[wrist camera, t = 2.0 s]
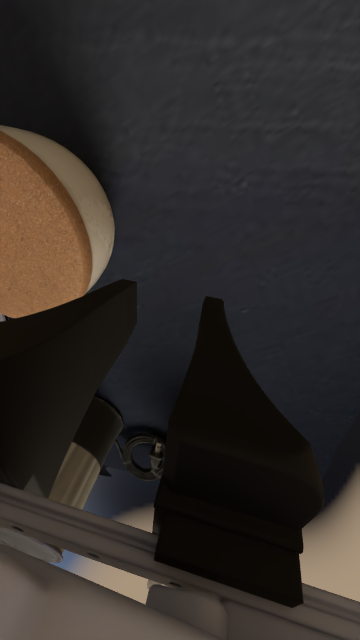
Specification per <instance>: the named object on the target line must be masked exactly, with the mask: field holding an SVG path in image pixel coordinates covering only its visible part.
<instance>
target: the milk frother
mask: <svg viewBox="0 0 360 640" xmlns="http://www.w3.org/2000/svg"><path fill="white" fill-rule="evenodd" d="M122 429H123V420H122V418H121V416H120V414H119V413H118V412H117V411H116V409H115V408H113V407H112V406H111V405H110V404H109V403H107V402H105V401H104V400H102V399H100V398H98V397H95V396H94V397H93V399H92V401H91V403H90V405H89V407H88V409H87V411H86V413H85V415H84V417H83V419H82V421H81V423H80V425H79V427H78V430H77V432H76V434H75V436H74V438H73V441H72V443H71V445H70V447H69V450H68V452H67V454H66V456H65V459H64V461H63V463H62V466H61V468H60V470H59V473H58V475H57V478H56V480H55V483H54V485H53V487H52V490H51V492H50V495H49V497H48V499H50V500H53V501H56V502H59V503H62V504H65V505H68V506H71V507H74V508H78V509H81V510H82V509H83V507H84V505H85V502H86V500H87V498H88V496H89V493H90V491H91V489H92V487H93V485H94V483H95V481H96V478H97V476H98V474H99V472H100V470H101V468H102V465H103V463H104V461H105V459H106V457H107V455H108V453H109V451H110V449H111V447H112V445H113V443H114V442H115V444H116V446H117V448H118V450H119V453H120V456H121V459H122V461H123V463H124V464H125V466H126V468H127V470H128V471H129V472H130V473H131V474H132V475H133V476H135V477H136V478H138V479H141V480H145V481H152V480H156V479H159V478H161V477H162V473H163V464H164V462H163V464H162V465H161V463H162V458H163V456H165V447H166V441H165V440H163V439H162V438H160V437H158V436H156V435H153V434H148V433H139V434H136V435H133V436H132V437H131V438H130V439H129V440H128V441H127V442H126V443H125V446H124V450H123V452H122V450H121V448H120V445H119V443H118V441H117V439H116V437H117V436H118V434H119V433H120V432H121V431H122ZM140 443H150V444H153V447H152V449H151V451H150V452H149V456H150V457H151V463H150V465H151V469H144V468H142V467H140V466H139V465H138V464H137V463H136V462H135V461H134V459H133V457H132V452H131V451H132V448H133V447H134V446H135V445H137V444H140ZM0 543H1V544H4V545H6V546H9V547H11V548H14V549H16V550H19V551H21V552H24V553H26V554H29V555H31V556H33V557H36V558H38V559H40V560H43V561H46V562H53V563H60V562H62V560H63V556H62V553H63V550H64V549H62V548H59V547H56V546H54V545H51V544H48V543H45V542H42V541H40V540H37V539H34V538H31V537H28V536H25V535H23V534H20V533H17V532H14V531H11V530H9V529H6V528H3V527H0Z"/></svg>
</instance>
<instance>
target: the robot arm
mask: <svg viewBox="0 0 360 640" xmlns="http://www.w3.org/2000/svg"><path fill="white" fill-rule="evenodd" d="M136 322H137V282H135V281H130V280H125V279H121V280H118V281H116V282H113V283H111V284H109V285H106V286H104V287H102V288H100V289H98V290H95V291H93V292H91V293H89V294H86V295H84V296H82V297H79V298H77V299H74V300H72V301H69V302H67V303H64V304H62V305H59V306H56V307H53V308H50V309H47V310H44V311H41V312H37V313H34V314H31V315H27V316H23V317H19V318H14V319H10V320H6V319H5V317H4V315H3V314H1V313H0V527H3V528H6V529H9V530H11V531H14V532H17V533H20V534H23V535H25V536H28V537H31V538H34V539H37V540H40V541H42V542H45V543H48V544H51V545H54V546H56V547H59V548H62V549H65V550H68V551H70V552H73V553H76V554H79V555H82V556H84V557H88V558H90V559H93V560H96V561H99V562H101V563H104V564H107V565H110V566H113V567H115V568H118V569H121V570H124V571H127V572H130V573H132V574H135V575H138V576H141V577H144V578H146V579H149V580H152V581H155V582H157V583H160V584H163V585H158V584H153V585H152V586H151V587H150V588H149V592H148V597H147V601H146V605H145V604H142V603H140V602H138V601H136V600H133V599H131V598H129V597H126V596H124V595H122V594H119V593H117V592H115V591H113V590H110V589H108V588H105V587H103V586H101V585H99V584H96V583H94V582H92V581H89V580H87V579H85V578H83V577H80V576H78V575H76V574H73V573H71V572H69V571H66V570H64V569H61V568H59V567H57V566H55V565H52V564H50V563H48V562H45V561H43V560H40V559H38V558H36V557H33V556H31V555H29V554H26V553H24V552H21V551H19V550H16V549H14V548H11V547H9V546H6V545H4V544H1V543H0V640H360V602H358V601H355V600H352V599H349V598H345V597H343V596H339V595H337V594H334V593H330V592H327V591H325V590H322V589H319V588H316V587H312V586H310V585H307V584H304V583H302V581H301V571H300V560H299V554H301V553H303V538H302V528H303V527H304V526H305V525H306V524H307V523H309V522H310V521H311V520H312V519H313V518H314V517H315V516H316V515H317V514H318V513H319V512H320V511H321V509H322V508H323V506H324V492H323V486H322V481H321V476H320V473H319V470H318V466H317V463H316V460H315V457H314V454H313V450H312V447H311V445H310V443H309V442H308V441H307V440H306V439H305V438H304V437H303V436H302V435H301V434H300V433H299V432H298V431H297V430H296V429H295V428H294V427H293V425H292V424H291V423H290V422H289V421H288V420H287V419H286V418H285V417H284V416H283V415H282V414H281V413H280V412H279V410H278V409H277V408H276V407H275V406H274V404H273V403H272V402H271V401H270V400H269V398H268V397H267V396H266V394H265V393H264V391H263V390H262V389H261V387H260V386H259V385H258V383H257V382H256V380H255V379H254V377H253V376H252V374H251V373H250V371H249V369H248V368H247V366H246V364H245V362H244V361H243V359H242V357H241V355H240V353H239V351H238V349H237V347H236V344H235V342H234V340H233V337H232V335H231V332H230V329H229V326H228V323H227V319H226V315H225V311H224V302H223V301H222V299H218V298H213V297H208V296H206V298H205V300H204V302H203V306H202V312H201V318H200V324H199V329H198V335H197V341H196V347H195V350H194V354H193V357H192V360H191V363H190V366H189V368H188V371H187V374H186V377H185V380H184V383H183V385H182V388H181V391H180V394H179V396H178V399H177V401H176V404H175V407H174V409H173V412H172V414H171V417H170V419H169V422H168V431H167V439H166V447H165V456H164V464H163V473H162V477H161V480H160V484H159V488H158V491H157V495H156V499H155V502H154V508H155V510H154V521H153V532H152V533H150V532H147V531H144V530H141V529H138V528H135V527H132V526H129V525H125V524H123V523H120V522H117V521H114V520H111V519H108V518H104V517H102V516H99V515H96V514H93V513H90V512H87V511H83V510H81V509H78V508H74V507H71V506H68V505H65V504H62V503H59V502H56V501H53V500H50V499H48V497H49V495H50V492H51V490H52V487H53V485H54V483H55V480H56V478H57V475H58V473H59V470H60V468H61V466H62V463H63V461H64V459H65V456H66V454H67V452H68V450H69V447H70V445H71V443H72V441H73V438H74V436H75V434H76V432H77V430H78V427H79V425H80V423H81V421H82V419H83V417H84V415H85V413H86V411H87V409H88V407H89V405H90V403H91V401H92V399H93V397H94V395H95V393H96V391H97V389H98V387H99V386H100V384H101V382H102V381H103V379H104V378H105V376H106V374H107V373H108V371H109V370H110V368H111V367H112V365H113V364H114V362H115V361H116V359H117V358H118V356H119V354H120V353H121V351H122V350H123V348H124V347H125V345H126V343H127V342H128V340H129V338H130V336H131V334H132V332H133V329H134V327H135V325H136ZM164 585H166V586H164Z"/></svg>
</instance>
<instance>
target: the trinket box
mask: <svg viewBox="0 0 360 640" xmlns="http://www.w3.org/2000/svg"><path fill="white" fill-rule="evenodd" d="M114 230H115V227H114V219H113V214H112V210H111V206H110V203H109V201H108V198H107V196H106V193H105V192H104V190H103V188H102V186H101V184H100V183H99V181H98V180H97V178H96V177H95V175H94V174H93V173H92V171H91V170H90V169H89V168H88V167H87V166H86V165H85V164H84V163H83V162H82V161H81V160H80V159H79V158H78V157H77V156H75V155H74V154H73V153H72V152H70V151H69V150H68V149H66V148H65V147H63V146H61V145H60V144H58V143H57V142H55V141H53V140H51V139H48V138H46V137H44V136H41V135H39V134H36V133H33V132H30V131H26V130H22V129H18V128H13V127H9V126H4V125H0V313H1V314H3V315H6V316H8V317H11V318H19V317H23V316H27V315H31V314H34V313H37V312H41V311H44V310H47V309H50V308H53V307H56V306H59V305H62V304H64V303H67V302H69V301H72V300H74V299H77V298H79V297H82V296H84V295H85V293H86V292H87V291H88V290H89V289H90V288H91V287H92V286H93V285H94V284H95V283H96V282H97V280H98V279H99V277H100V276H101V274H102V273H103V271H104V269H105V268H106V266H107V263H108V261H109V259H110V256H111V253H112V249H113V243H114Z"/></svg>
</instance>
